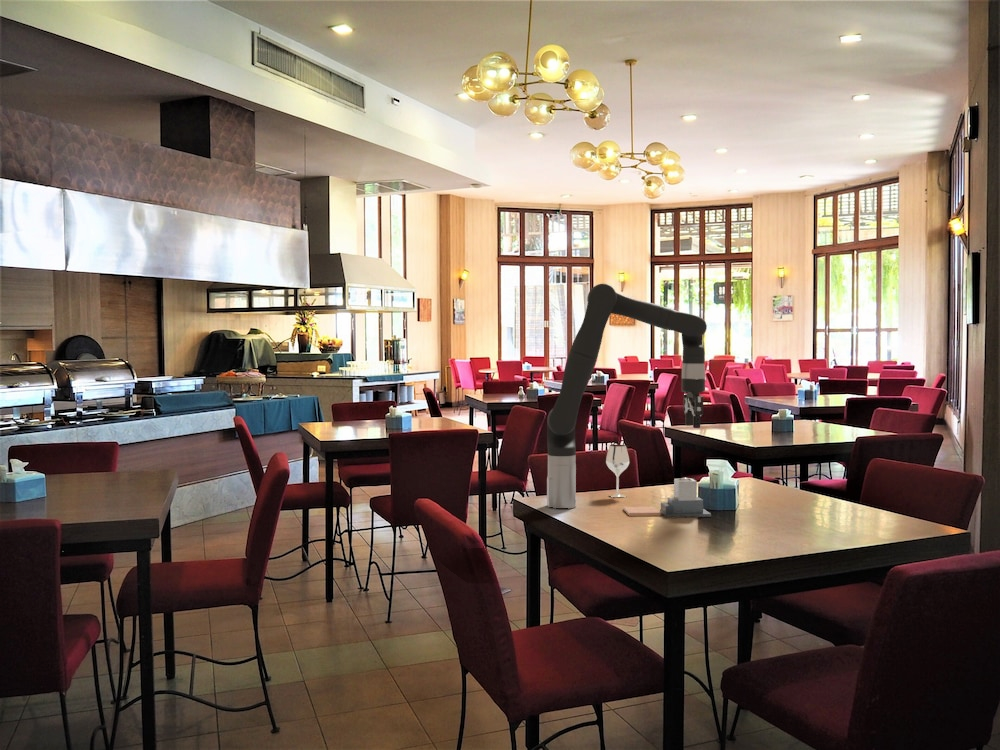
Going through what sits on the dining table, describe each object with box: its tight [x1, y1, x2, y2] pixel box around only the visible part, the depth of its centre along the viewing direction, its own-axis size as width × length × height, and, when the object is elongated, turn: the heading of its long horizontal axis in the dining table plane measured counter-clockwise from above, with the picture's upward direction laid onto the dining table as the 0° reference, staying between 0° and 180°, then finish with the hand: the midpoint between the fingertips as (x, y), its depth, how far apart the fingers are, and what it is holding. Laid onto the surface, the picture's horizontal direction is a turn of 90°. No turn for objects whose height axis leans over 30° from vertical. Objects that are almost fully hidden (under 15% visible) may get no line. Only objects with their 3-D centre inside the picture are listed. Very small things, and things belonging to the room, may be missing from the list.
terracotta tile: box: [622, 506, 662, 517], centre depth 270 cm, size 10×10×1 cm
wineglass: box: [605, 444, 630, 498], centre depth 300 cm, size 8×8×18 cm
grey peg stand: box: [659, 477, 712, 518], centre depth 267 cm, size 14×8×12 cm, turn 93°
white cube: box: [673, 477, 698, 501], centre depth 267 cm, size 6×6×6 cm
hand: (692, 426), depth 279 cm, fingers open, 8 cm apart
